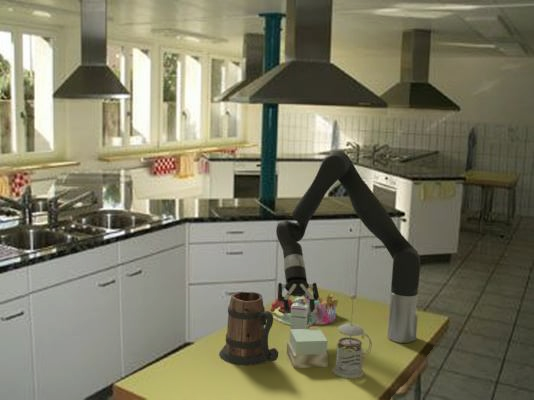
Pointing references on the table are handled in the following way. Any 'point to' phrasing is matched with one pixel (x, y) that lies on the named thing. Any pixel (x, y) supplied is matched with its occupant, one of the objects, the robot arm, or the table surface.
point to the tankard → (248, 331)
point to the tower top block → (308, 341)
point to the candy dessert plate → (319, 316)
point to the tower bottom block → (306, 359)
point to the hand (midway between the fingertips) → (300, 311)
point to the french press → (348, 365)
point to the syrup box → (299, 315)
